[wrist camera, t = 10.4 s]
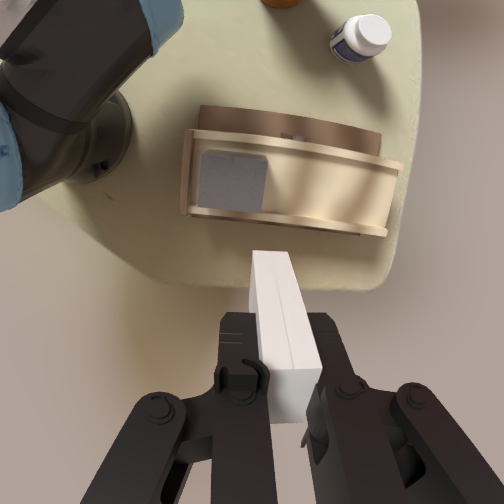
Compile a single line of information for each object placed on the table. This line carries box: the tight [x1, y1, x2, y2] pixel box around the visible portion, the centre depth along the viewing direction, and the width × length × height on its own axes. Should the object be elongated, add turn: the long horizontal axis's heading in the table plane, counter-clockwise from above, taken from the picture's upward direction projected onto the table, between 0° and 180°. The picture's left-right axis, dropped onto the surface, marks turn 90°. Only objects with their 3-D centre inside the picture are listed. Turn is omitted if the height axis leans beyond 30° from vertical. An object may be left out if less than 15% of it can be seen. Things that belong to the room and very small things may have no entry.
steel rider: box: [197, 149, 268, 214], centre depth 29 cm, size 6×5×5 cm
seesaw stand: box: [192, 105, 381, 236], centre depth 37 cm, size 24×15×5 cm, turn 83°
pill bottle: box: [330, 14, 392, 64], centre depth 27 cm, size 5×5×10 cm
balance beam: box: [179, 129, 404, 237], centre depth 32 cm, size 24×10×4 cm, turn 83°
